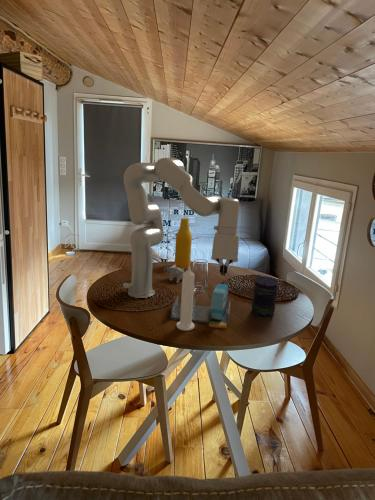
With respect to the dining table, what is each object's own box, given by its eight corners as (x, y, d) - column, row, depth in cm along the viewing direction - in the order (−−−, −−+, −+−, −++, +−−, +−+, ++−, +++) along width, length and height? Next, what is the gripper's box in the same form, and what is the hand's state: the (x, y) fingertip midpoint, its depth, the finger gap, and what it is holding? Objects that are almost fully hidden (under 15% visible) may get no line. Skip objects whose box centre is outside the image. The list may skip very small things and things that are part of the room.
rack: (169, 321, 144) (170, 310, 142) (176, 305, 159) (177, 294, 158) (228, 328, 141) (229, 317, 140) (229, 311, 157) (230, 300, 155)
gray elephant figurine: (182, 284, 185) (184, 270, 183) (159, 280, 187) (161, 266, 185) (185, 279, 194) (187, 265, 192) (164, 275, 195) (165, 261, 193)
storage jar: (255, 306, 163) (259, 275, 159) (276, 312, 159) (281, 280, 154) (247, 314, 155) (251, 281, 151) (269, 320, 150) (274, 287, 146)
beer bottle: (192, 268, 210) (196, 219, 202) (179, 270, 206) (181, 220, 198) (185, 263, 218) (187, 216, 210) (171, 265, 213) (173, 217, 206)
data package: (220, 322, 144) (223, 294, 141) (209, 319, 145) (212, 292, 142) (226, 310, 155) (228, 284, 152) (216, 308, 156) (218, 282, 153)
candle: (176, 322, 144) (179, 262, 137) (193, 322, 144) (197, 263, 138) (176, 330, 137) (180, 268, 130) (195, 331, 138) (199, 269, 131)
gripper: (207, 230, 138) (203, 275, 143) (246, 233, 136) (241, 279, 141) (208, 226, 145) (205, 269, 150) (246, 229, 143) (241, 273, 148)
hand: (223, 274), depth 145 cm, fingers closed
